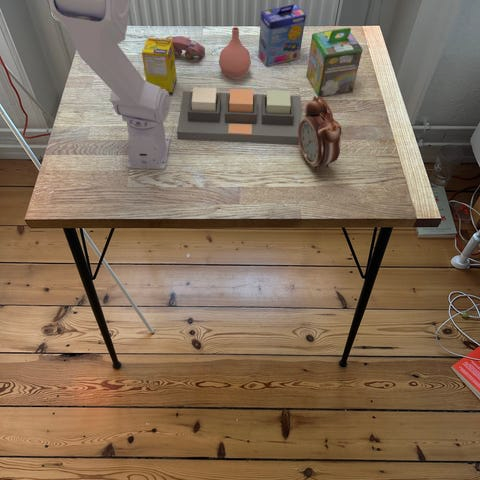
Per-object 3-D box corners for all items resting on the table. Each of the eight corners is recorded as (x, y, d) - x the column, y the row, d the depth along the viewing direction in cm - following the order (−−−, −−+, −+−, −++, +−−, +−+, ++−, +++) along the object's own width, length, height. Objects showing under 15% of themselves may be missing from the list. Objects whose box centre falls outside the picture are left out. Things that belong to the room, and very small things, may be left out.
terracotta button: (252, 115, 110) (252, 104, 107) (229, 114, 110) (229, 103, 107) (252, 101, 113) (253, 89, 110) (230, 100, 113) (230, 88, 110)
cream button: (215, 114, 110) (215, 102, 107) (192, 113, 110) (191, 101, 107) (216, 99, 113) (216, 88, 110) (194, 98, 113) (193, 87, 110)
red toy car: (165, 59, 130) (158, 43, 124) (171, 43, 131) (164, 27, 124) (202, 66, 129) (197, 51, 122) (207, 50, 130) (202, 34, 123)
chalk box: (339, 70, 127) (351, 13, 115) (353, 92, 121) (367, 35, 110) (304, 75, 125) (313, 17, 113) (317, 97, 120) (327, 40, 108)
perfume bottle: (230, 88, 121) (231, 42, 112) (212, 72, 125) (211, 26, 115) (256, 77, 124) (259, 31, 114) (238, 61, 128) (239, 16, 118)
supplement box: (176, 80, 122) (173, 38, 114) (172, 95, 119) (168, 54, 110) (152, 78, 123) (147, 36, 114) (147, 93, 119) (141, 51, 110)
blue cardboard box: (266, 68, 126) (270, 12, 115) (256, 56, 129) (260, 0, 118) (301, 59, 129) (308, 3, 118) (290, 47, 132) (297, -8, 121)
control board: (301, 144, 110) (304, 127, 106) (177, 138, 110) (175, 122, 106) (299, 103, 118) (301, 86, 115) (183, 98, 118) (182, 81, 115)
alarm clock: (293, 146, 109) (302, 88, 97) (313, 141, 111) (324, 83, 99) (315, 181, 103) (327, 123, 91) (336, 175, 104) (351, 117, 93)
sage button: (289, 117, 110) (290, 105, 107) (266, 116, 110) (267, 104, 107) (288, 102, 113) (289, 91, 110) (266, 101, 113) (267, 90, 110)
